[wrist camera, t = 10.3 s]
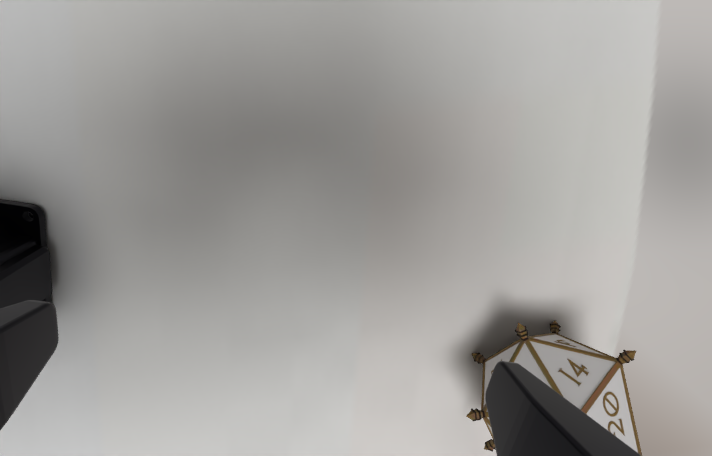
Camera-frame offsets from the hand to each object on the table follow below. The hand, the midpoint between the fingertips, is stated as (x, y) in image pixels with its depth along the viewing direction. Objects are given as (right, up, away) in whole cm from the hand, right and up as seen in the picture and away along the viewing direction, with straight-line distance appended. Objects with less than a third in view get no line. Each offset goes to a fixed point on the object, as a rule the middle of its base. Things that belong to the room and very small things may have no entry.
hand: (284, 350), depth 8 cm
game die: (+11, -5, +17) cm, 21 cm away
